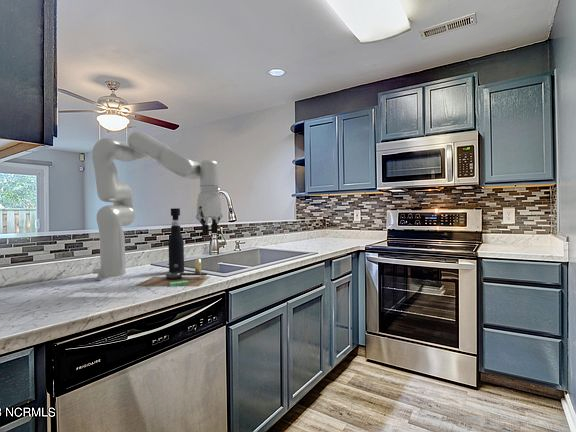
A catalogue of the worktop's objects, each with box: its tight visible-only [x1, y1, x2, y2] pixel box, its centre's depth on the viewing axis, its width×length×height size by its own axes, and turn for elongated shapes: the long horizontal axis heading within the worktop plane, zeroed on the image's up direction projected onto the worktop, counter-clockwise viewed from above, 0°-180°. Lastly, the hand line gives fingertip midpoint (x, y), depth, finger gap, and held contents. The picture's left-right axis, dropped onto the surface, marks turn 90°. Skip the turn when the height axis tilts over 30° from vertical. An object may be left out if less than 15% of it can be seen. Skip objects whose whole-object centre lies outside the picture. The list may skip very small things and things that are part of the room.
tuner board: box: [135, 275, 211, 287], centre depth 125 cm, size 24×16×2 cm
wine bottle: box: [168, 207, 185, 273], centre depth 142 cm, size 6×6×30 cm
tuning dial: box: [165, 258, 208, 280], centre depth 129 cm, size 16×6×8 cm, turn 88°
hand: (210, 233), depth 134 cm, fingers open, 4 cm apart
